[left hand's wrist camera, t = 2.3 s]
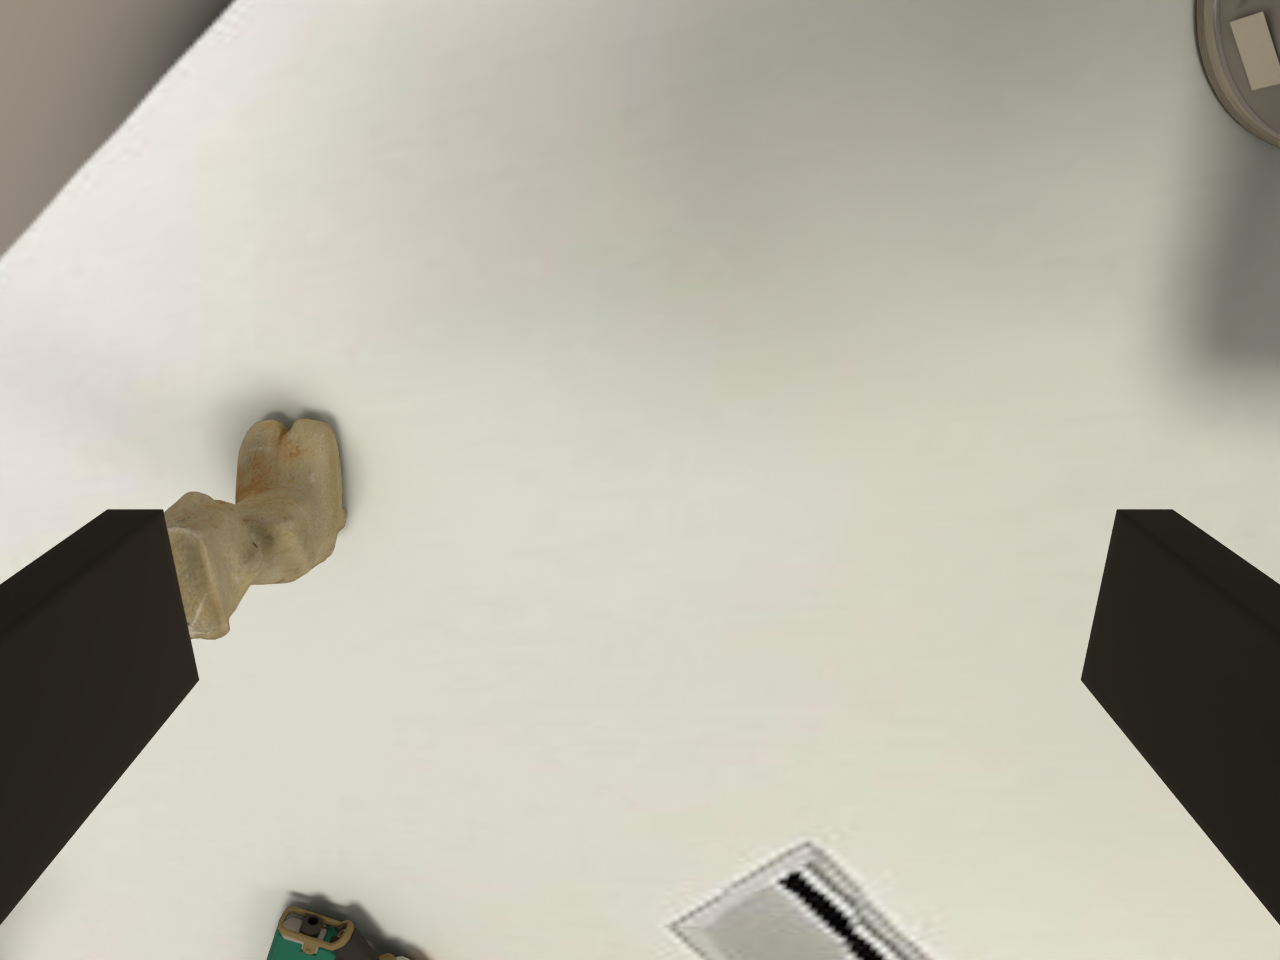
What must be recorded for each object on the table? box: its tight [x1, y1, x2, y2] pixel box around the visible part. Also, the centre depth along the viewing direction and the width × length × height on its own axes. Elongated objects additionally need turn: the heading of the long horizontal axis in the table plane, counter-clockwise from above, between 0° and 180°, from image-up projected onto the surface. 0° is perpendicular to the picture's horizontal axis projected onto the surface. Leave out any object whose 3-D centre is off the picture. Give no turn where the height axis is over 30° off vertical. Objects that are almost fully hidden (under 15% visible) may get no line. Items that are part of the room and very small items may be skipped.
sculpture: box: [164, 419, 346, 640], centre depth 41 cm, size 6×7×15 cm
